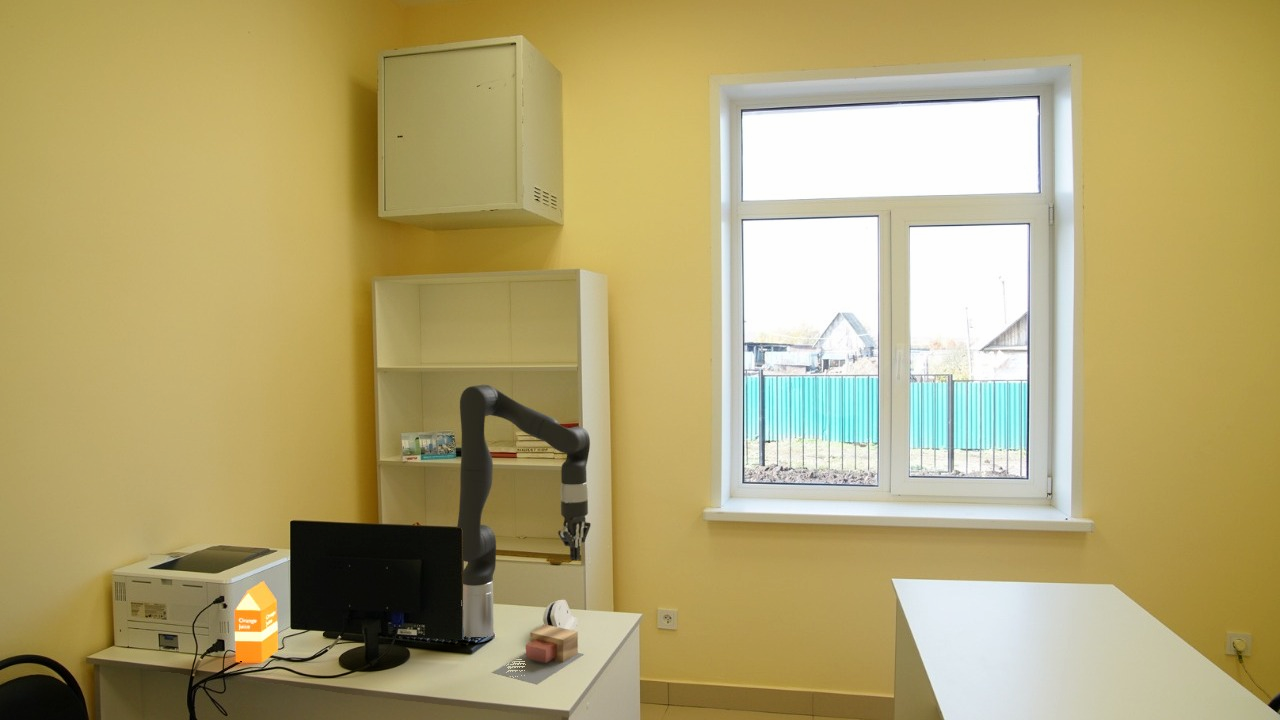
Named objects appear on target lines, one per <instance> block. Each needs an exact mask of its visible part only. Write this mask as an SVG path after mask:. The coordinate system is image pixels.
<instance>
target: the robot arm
mask: <svg viewBox="0 0 1280 720" xmlns="http://www.w3.org/2000/svg"><path fill="white" fill-rule="evenodd" d="M459 413H460V427H461V443H460V444H461V445H460V446H461V453H460V454H461V456H460V471H459V472H460V473H459V475H460V478H459V479H460V480H459V483H460V485H459V486H460V488H459V489H460V491H459V507H458V509H459V511H458V519H457V526H456V528H457V527H459V528H462V530H463V560H462V561H463V562H466V563H467V564H466V566H465V568H463V570H462V571H463V603H464V604H463V610H464V637H465V636H466V637H487V636H488V637H491V636H493V635H495V634H494V633H495V632H494V574H495V570H496V565H497V563H496V562H497V561H496V560H497V558H496V557H497V540H496V535H495V532H494V531H493V529H492V528H491V527H490V526H488V525H485V524H481V521H482V515H483V514H482V513H483V512H484V511H483V510H484V507H485V504H486V502H487V499H488V497H489V495H490V492H491V489H492V485H493V484H492V483H493V474H494V473H493V472H494V471H493V468H494V462H493V458H492V454H491V452H490V449H489V447H488V444H487V441H486V437H485V422H486V421H485V420H486V417H488V416H494V417H498V418H501V419H504V420H507V421H509V422H510V423H512V424H513V425H515V426H516V428H517V429H519V430H520V431H522V432H523V433H525V434H527V435H529V436H531V437H534V438H536V439H538V440H541V441H543V442H545V443H547V444H548V445H549V446H550V447H552V448H554V450H557V451H559V452H560V453H563V454H566V458H565V461H564V462H563V463H562V464H561V470H560V471H561V472H560V473H561V479H560V482H561V484H560V515H561V516H562V517H563V518H564V520H563V527H562V530H558V532H557V534H558V536H559V537H560V539H561V541H562V543H563V545H564V546H565V547H569V554H570V555H569V558H570V560H571V561H575V562H576V561H579V560H580V559H581V546H582V544H583V543H585V542H586V539H587V536H588V533H589V530H590V529H591V522H588V521H586V516H587V515H588V514H589V505H588V503H589V501H588V500H589V499H588V497H589V495H588V494H589V492H588V483H587V464H588V460H589V453H590V450H591V449H590V448H591V440H590V439H591V438H590V436H589V432H588V431H587V429H585V428H584V427H582V426H578V425H577V426H572V427H565V426H563V425H561V424H560V423H559V421H558V420H557V419H556V418H554V417H552V416H549V415H547V414H544V413H543V412H539V411H538V410H535V409H533V408H530V407H528V406H526V405H524V404H521V403H520V402H518V401H516V400H514V399H512V398H511V397H509V396H507V395H506V394H504V392H502V391H500V390H498V389H497V388H495V387H493V386H491V385H489V384H480V385H473V386H468V387H466V388H465V389H464V390H463V391H462V393H461V394H460V398H459Z"/></svg>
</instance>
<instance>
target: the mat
mask: <svg viewBox="0 0 1280 720" xmlns="http://www.w3.org/2000/svg"><path fill="white" fill-rule="evenodd" d="M584 655H585V654H584V653H580V652H578V654H576V655H575V656H573V657H572V658H570V659H568V660H567V661H565V662H564V663H563V662H559V661H555V658H553V659H552V660H550V661H548V662H547V663H545V662H540V661H536V660H532V659H528V658H526V652H525V653H524V654H521V655H520V656H518V657H519V658H518V657H516V658H515V659H522V660H514V659H512V661H525V662H520V663H525V664H526V665H525V664H524V665H523V664H521V665H520V664H519V665H517V664H516V665H515V664H514V665H510V664H513V663H514V662H513V663H512V662H511V661H509V662H510V663H509V662H507V663H506V664H504V665H505V666H504V665H502V666H500V667H498V668H497V669H495V670H493V671H492V672H491V673H492V674H497V675H500V676H503V677H507V678H510V677H509V676H511V678H510V679H515V680H519V681H522V682H526V683H529V684H534V685H538V684H540V683H542V682H544V681H545V680H547V679H548V678H549V677H552V676H553V675H554V674H556V673H558V672H559V671H561V670H562V669H564V668H566V667H567V666H569V665H570V664H571V663H573V662H575V661H577V660H578V659H579V658H581V657H583V656H584ZM508 663H509V665H507V664H508ZM515 663H519V662H515ZM506 665H507V666H506ZM508 666H511V667H512V666H525V667H523V668H522V667H520V668H519V667H518V668H517V667H516V668H514V667H513V668H511V669H510V668H509V669H508V668H507V667H508ZM508 670H518V671H516V672H515V671H513V672H512V671H511V672H510V671H509V672H507V671H508ZM519 670H520V671H521V670H523V671H521V672H520V671H519ZM524 670H525V671H524ZM506 672H507V673H506ZM521 675H522V676H521ZM524 675H525V676H524ZM512 676H513V677H514V678H513V677H512ZM515 676H516V677H515ZM517 676H518V677H517Z"/></svg>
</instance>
